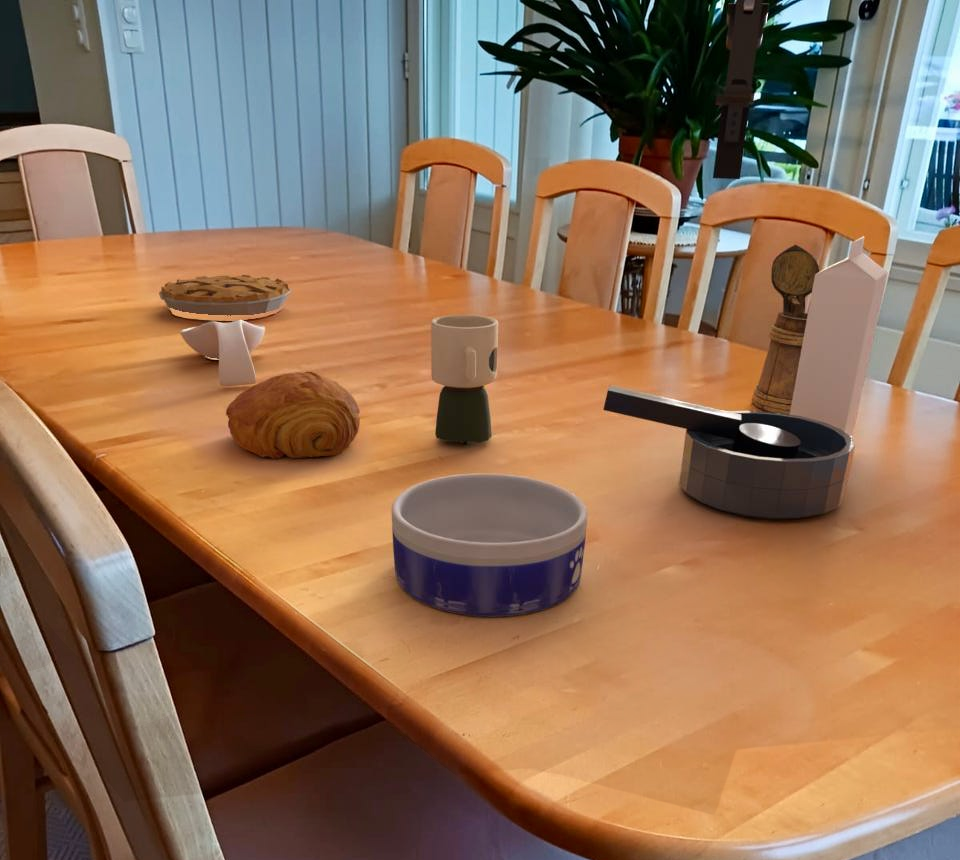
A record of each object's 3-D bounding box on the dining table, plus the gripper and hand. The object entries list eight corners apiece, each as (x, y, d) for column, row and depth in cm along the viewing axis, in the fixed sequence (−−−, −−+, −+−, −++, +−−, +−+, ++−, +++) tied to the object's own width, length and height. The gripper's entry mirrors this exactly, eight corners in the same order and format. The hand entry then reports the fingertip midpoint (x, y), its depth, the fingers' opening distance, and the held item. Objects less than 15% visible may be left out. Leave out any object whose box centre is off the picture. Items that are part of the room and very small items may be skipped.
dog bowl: (441, 525, 87) (441, 461, 84) (605, 555, 82) (611, 488, 79) (359, 595, 75) (355, 523, 72) (546, 636, 70) (550, 560, 67)
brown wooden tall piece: (805, 387, 131) (831, 245, 122) (834, 417, 119) (865, 261, 110) (738, 386, 131) (760, 243, 122) (761, 415, 119) (786, 259, 110)
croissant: (353, 435, 116) (351, 366, 113) (367, 460, 102) (365, 382, 99) (229, 438, 113) (224, 367, 110) (226, 463, 99) (219, 383, 96)
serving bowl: (833, 474, 101) (845, 417, 98) (849, 531, 88) (863, 468, 85) (682, 460, 104) (689, 405, 101) (675, 514, 91) (683, 452, 88)
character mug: (503, 455, 104) (507, 331, 98) (437, 457, 103) (437, 332, 97) (486, 425, 114) (489, 310, 107) (426, 426, 113) (425, 310, 106)
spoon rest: (180, 349, 143) (174, 298, 140) (261, 344, 147) (256, 295, 143) (194, 391, 124) (187, 333, 120) (286, 385, 127) (282, 329, 124)
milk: (849, 451, 108) (897, 238, 97) (837, 466, 103) (886, 245, 93) (794, 441, 111) (835, 233, 100) (780, 455, 106) (821, 239, 95)
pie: (310, 303, 175) (308, 273, 173) (259, 327, 157) (256, 295, 154) (199, 295, 179) (196, 267, 177) (137, 319, 161) (132, 287, 158)
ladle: (782, 479, 98) (802, 422, 95) (785, 500, 93) (806, 441, 90) (598, 436, 100) (612, 379, 97) (591, 455, 95) (605, 395, 92)
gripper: (719, -51, 106) (694, 165, 117) (717, -87, 85) (687, 181, 95) (790, -51, 105) (759, 167, 115) (805, -88, 83) (765, 184, 94)
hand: (726, 174), depth 105 cm, fingers open, 13 cm apart
